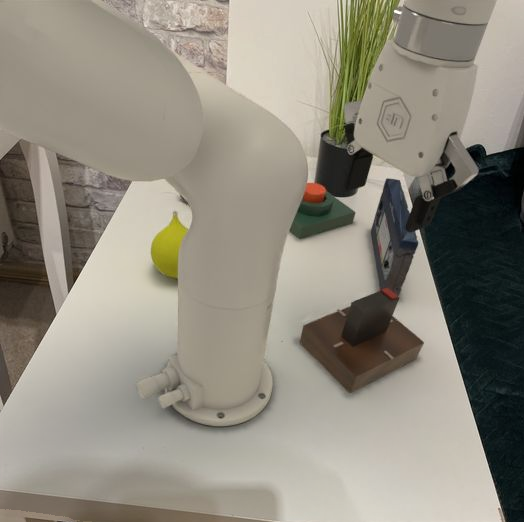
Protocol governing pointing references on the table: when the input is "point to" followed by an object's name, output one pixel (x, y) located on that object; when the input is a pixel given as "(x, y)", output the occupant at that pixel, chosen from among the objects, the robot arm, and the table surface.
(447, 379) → the table surface
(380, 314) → the grey square slab
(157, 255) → the ornament
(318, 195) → the button
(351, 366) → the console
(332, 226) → the button box
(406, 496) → the table surface
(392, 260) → the vhs cassette tape
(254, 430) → the table surface
